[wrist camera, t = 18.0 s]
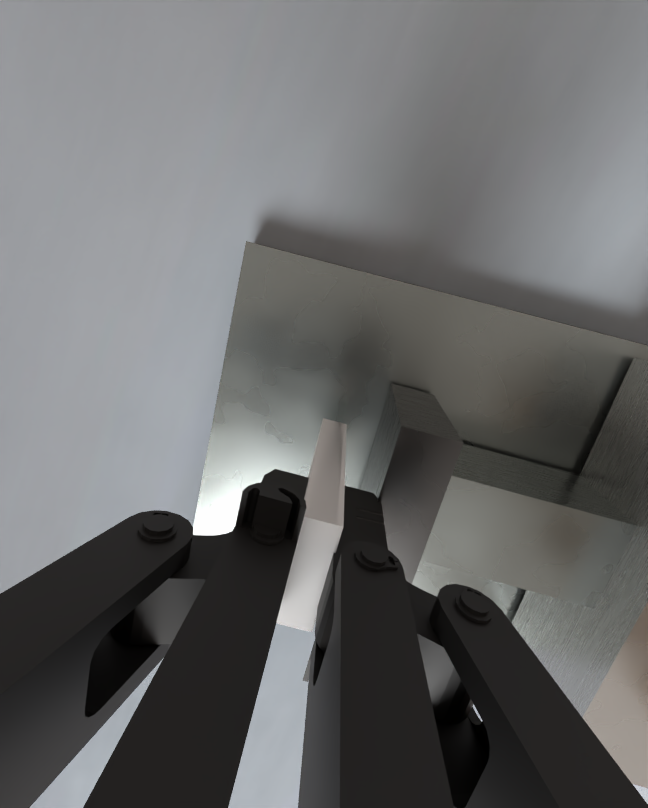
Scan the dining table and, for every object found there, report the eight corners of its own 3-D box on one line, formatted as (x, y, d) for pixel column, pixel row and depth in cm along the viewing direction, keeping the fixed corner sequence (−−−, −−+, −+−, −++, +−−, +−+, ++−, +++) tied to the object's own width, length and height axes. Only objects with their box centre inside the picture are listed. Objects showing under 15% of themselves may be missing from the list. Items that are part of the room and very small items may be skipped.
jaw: (329, 585, 18) (316, 692, 13) (415, 300, 15) (439, 307, 10) (591, 658, 18) (673, 795, 13) (739, 385, 14) (924, 434, 10)
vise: (197, 537, 20) (126, 642, 14) (253, 243, 16) (189, 219, 10) (875, 727, 19) (1100, 922, 13) (1095, 462, 15) (1540, 570, 9)
